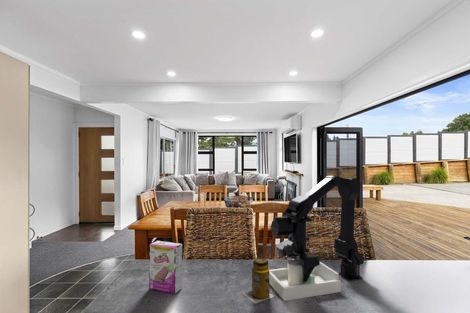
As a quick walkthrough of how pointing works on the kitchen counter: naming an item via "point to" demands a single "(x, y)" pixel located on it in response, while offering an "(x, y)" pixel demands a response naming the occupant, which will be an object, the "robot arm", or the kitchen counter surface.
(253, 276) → the condiment
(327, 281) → the white tray
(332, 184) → the robot arm
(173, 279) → the candy bar box
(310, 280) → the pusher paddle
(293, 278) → the jar
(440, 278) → the kitchen counter surface
